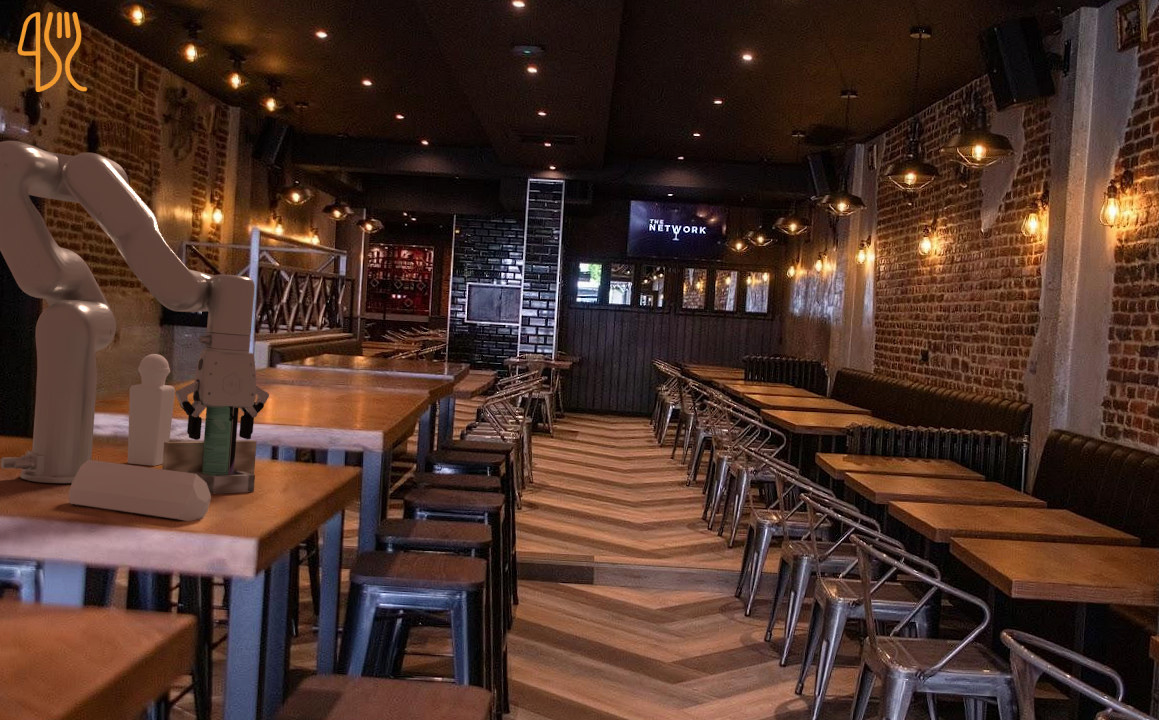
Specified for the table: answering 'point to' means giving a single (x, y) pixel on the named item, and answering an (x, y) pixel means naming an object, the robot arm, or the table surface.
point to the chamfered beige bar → (140, 490)
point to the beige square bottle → (150, 412)
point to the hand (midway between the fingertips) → (220, 438)
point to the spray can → (220, 440)
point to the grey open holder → (190, 461)
